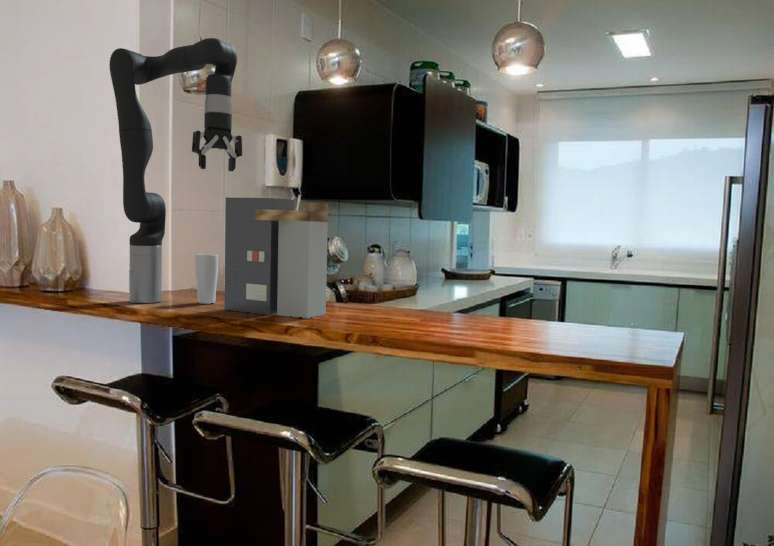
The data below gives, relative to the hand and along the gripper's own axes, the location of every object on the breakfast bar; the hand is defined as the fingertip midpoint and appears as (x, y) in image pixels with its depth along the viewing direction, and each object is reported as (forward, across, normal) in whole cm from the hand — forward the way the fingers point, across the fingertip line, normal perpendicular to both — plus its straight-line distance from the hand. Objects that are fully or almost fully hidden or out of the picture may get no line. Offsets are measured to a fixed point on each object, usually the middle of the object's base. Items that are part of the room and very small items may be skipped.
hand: (217, 170), depth 185 cm
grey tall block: (+40, -15, +24) cm, 48 cm away
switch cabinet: (+40, -9, +10) cm, 42 cm away
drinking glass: (+40, -2, -11) cm, 42 cm away
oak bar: (+14, -11, +23) cm, 29 cm away
